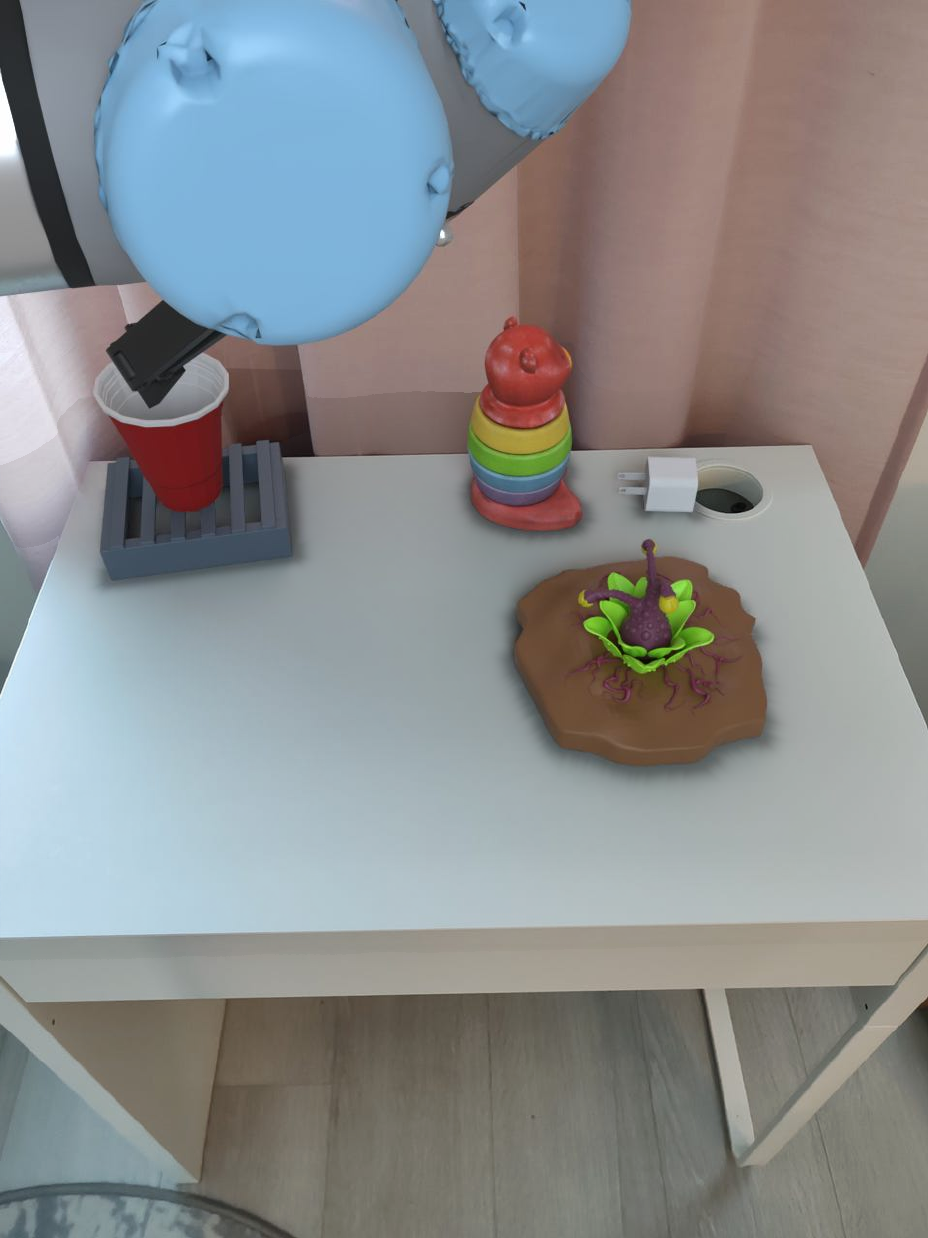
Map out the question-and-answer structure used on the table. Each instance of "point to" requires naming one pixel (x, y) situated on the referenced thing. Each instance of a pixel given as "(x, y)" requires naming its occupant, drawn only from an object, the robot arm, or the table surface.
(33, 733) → the table surface
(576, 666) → the plant
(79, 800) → the table surface
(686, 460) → the usb wall charger
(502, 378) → the stacking bear
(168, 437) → the plastic cup
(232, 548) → the dish rack
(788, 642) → the table surface
